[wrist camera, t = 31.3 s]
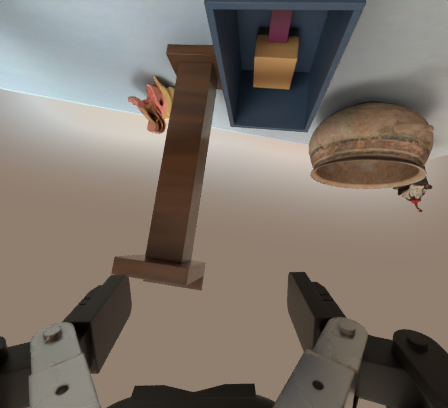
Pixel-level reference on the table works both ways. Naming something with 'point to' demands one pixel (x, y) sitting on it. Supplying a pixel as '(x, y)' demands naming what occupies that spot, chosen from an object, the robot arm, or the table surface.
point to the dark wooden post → (180, 174)
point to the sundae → (414, 191)
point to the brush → (276, 52)
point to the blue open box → (305, 66)
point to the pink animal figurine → (155, 106)
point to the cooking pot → (371, 147)
